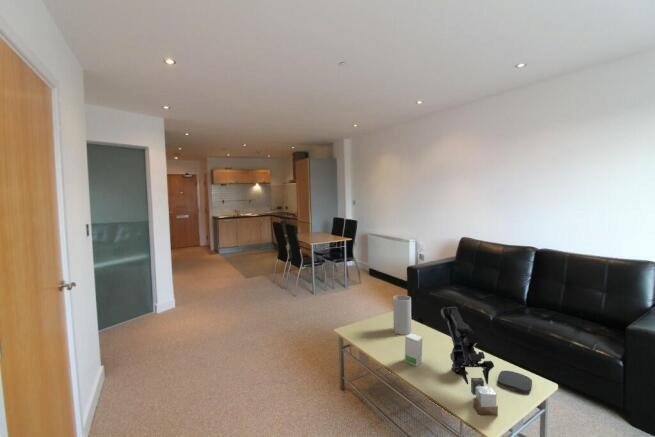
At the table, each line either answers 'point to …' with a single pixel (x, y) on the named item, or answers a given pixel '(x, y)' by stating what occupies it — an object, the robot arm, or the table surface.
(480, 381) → the plunger
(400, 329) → the cylinder vase
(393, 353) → the table surface
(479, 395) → the grey brown block
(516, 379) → the media streaming box
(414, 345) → the skincare box
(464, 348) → the robot arm
